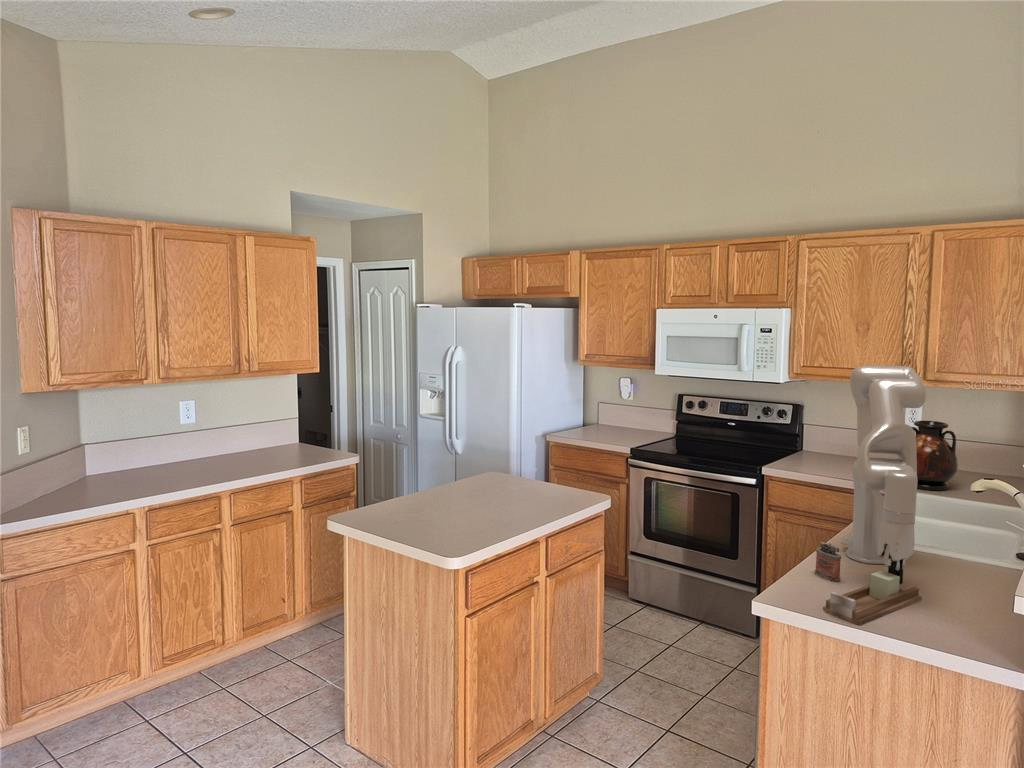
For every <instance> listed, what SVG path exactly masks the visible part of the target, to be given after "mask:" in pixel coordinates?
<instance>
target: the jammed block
mask: <svg viewBox="0 0 1024 768" xmlns="http://www.w3.org/2000/svg"><path fill="white" fill-rule="evenodd" d="M899 581H900V576H897V575H894V574H891V573H888V571H884V570H878V571H876V572H873V573H870V579H869V585H870V594H869V596H871V597H874V598H877V599H879V600H882V599H884V598H887V597H889V596H892V595H894V594H897V593H899V589H900V585H899Z"/></svg>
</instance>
